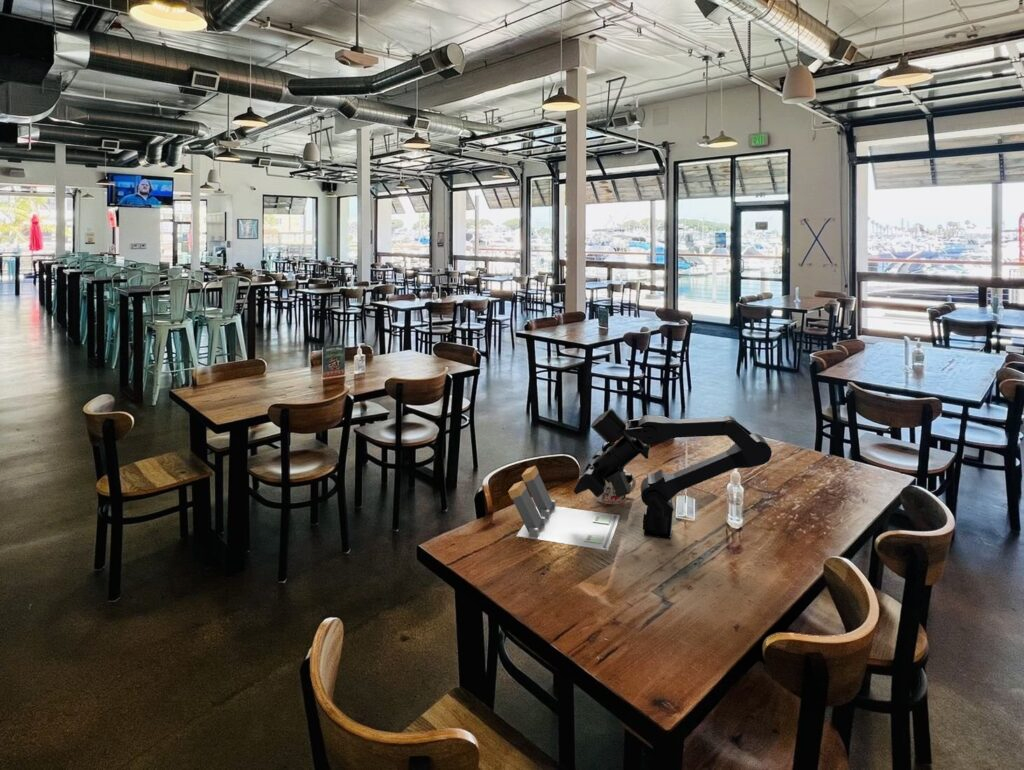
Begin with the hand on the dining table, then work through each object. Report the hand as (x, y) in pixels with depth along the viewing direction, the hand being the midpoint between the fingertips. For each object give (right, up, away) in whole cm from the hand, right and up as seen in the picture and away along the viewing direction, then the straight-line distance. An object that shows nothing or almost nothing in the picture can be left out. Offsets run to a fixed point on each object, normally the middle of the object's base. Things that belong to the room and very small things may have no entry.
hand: (574, 492), depth 163 cm
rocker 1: (-7, -6, +3) cm, 9 cm away
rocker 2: (-10, -8, -7) cm, 14 cm away
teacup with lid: (+12, -5, +14) cm, 20 cm away
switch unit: (-2, -9, -3) cm, 10 cm away
